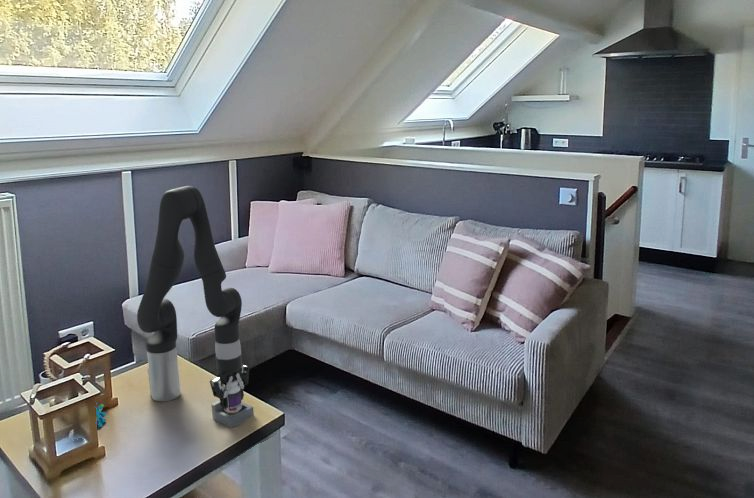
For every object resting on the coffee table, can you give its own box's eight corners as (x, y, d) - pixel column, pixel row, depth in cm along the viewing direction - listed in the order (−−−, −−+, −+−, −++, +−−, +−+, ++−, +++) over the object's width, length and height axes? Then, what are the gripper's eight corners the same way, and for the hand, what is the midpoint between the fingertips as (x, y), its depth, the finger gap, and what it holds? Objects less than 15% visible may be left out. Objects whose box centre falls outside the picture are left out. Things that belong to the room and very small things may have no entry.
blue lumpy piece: (91, 431, 183) (70, 405, 183) (79, 442, 184) (58, 417, 185) (115, 416, 193) (95, 392, 194) (104, 427, 195) (84, 403, 196)
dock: (212, 418, 192) (211, 404, 191) (234, 406, 199) (233, 392, 198) (231, 427, 187) (230, 413, 186) (253, 415, 194) (252, 401, 192)
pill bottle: (245, 406, 194) (243, 377, 191) (236, 414, 189) (233, 385, 186) (230, 403, 195) (228, 375, 193) (220, 411, 190) (218, 383, 188)
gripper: (238, 342, 195) (242, 390, 199) (201, 358, 184) (205, 409, 188) (254, 348, 190) (258, 397, 195) (217, 364, 179) (221, 416, 184)
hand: (232, 403), depth 192 cm, fingers closed on pill bottle, 5 cm apart
